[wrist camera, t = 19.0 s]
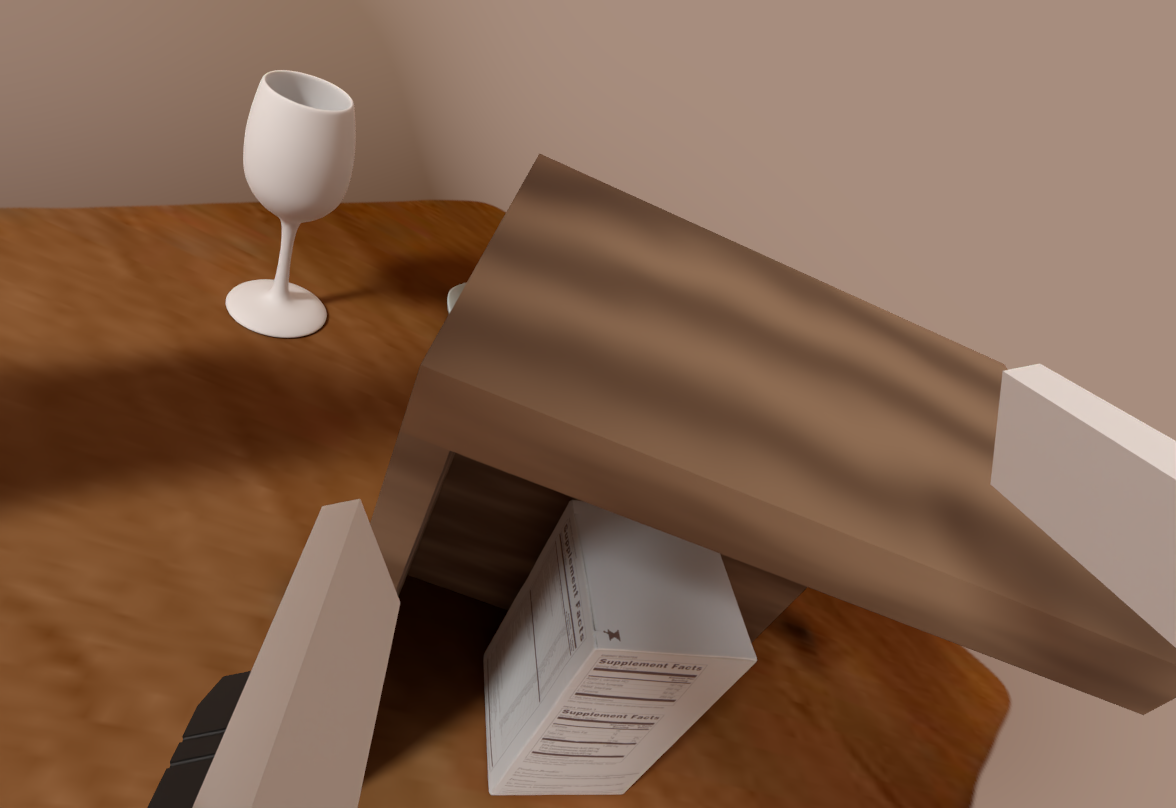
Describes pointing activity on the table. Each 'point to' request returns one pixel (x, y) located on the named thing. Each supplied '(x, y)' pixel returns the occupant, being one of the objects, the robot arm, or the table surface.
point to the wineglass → (293, 188)
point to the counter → (732, 441)
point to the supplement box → (607, 656)
